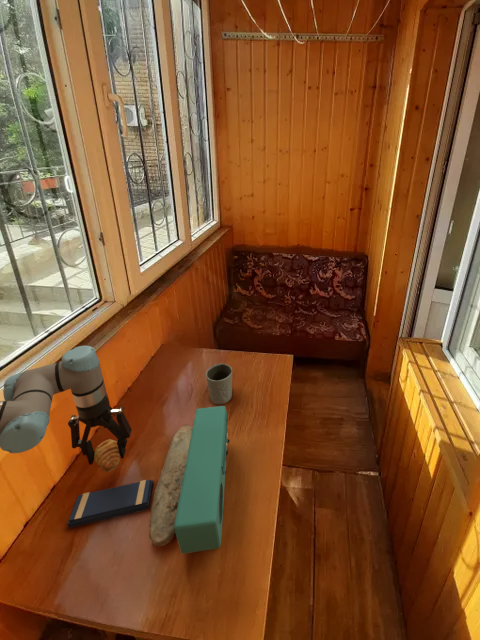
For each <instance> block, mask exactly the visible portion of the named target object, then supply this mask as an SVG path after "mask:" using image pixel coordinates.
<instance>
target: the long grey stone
mask: <svg viewBox="0 0 480 640" xmlns="http://www.w3.org/2000/svg"><path fill="white" fill-rule="evenodd" d="M192 429H193V426H192V425H188V424H184V425H182V426H181V427H179V428H178V429H177V430H176V432H175V433H174V434H173V436H172V438H171V441H170V445H169V448H168V451H167V454H166V455H165V457H164V464H163V466H162V469H161V472H160V474H159V479H158V482H157V485H156V486H155V490H154V492H153V495H154V496H153V498H152V505H151V509H150V511H151V515H150V519H149V535H148V536H149V539H150V541H151V544H153V546H155V547H163V546H166V545H167V544H168V543H170V542H171V541H172V539H173V538H174V536H175V535H176V533H175V530H174V524H175V519H176V514H177V508H178V503H179V498H180V492H181V487H182V482H183V477H184V471H185V466H186V461H187V455H188V450H189V445H190V440H191V434H192Z"/></svg>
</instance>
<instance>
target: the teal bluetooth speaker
mask: <svg viewBox="0 0 480 640" xmlns="http://www.w3.org/2000/svg"><path fill="white" fill-rule="evenodd" d="M193 419H194V420H193V424H192V428H193V429H192V434H191V440H190V445H189V450H188V455H187V461H186V466H185V471H184V477H183V482H182V487H181V492H180V498H179V503H178V508H177V514H176V519H175V524H174V530H175V537H176V540H177V543H178V546H179V551H180V553H181V554H184V555H185V554H192V553H198V552H204V551H211V550H217V549H220V548H221V545H222V538H223V537H222V535H223V519H224V504H225V489H226V488H225V487H226V474H227V456H228V454H229V450H228V444H229V443H230V439H229V433H228V425H229V424H228V422H229V421H228V419H229V418H228V411H227V408H226V406H225V405H217V406H209V407H199V408H196V409H195V413H194V418H193Z"/></svg>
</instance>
